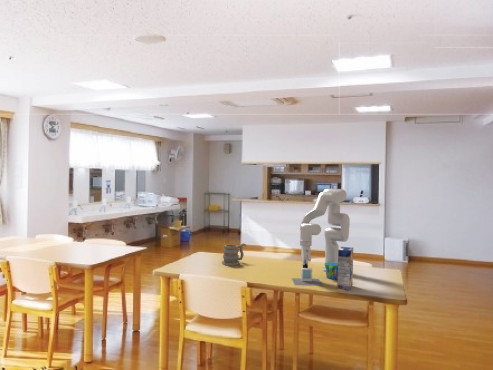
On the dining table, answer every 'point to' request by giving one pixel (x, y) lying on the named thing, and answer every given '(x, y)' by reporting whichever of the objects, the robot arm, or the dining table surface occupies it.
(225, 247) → the tankard
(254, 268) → the dining table surface
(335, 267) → the snack cup
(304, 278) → the tile
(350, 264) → the juice carton
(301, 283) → the mat
